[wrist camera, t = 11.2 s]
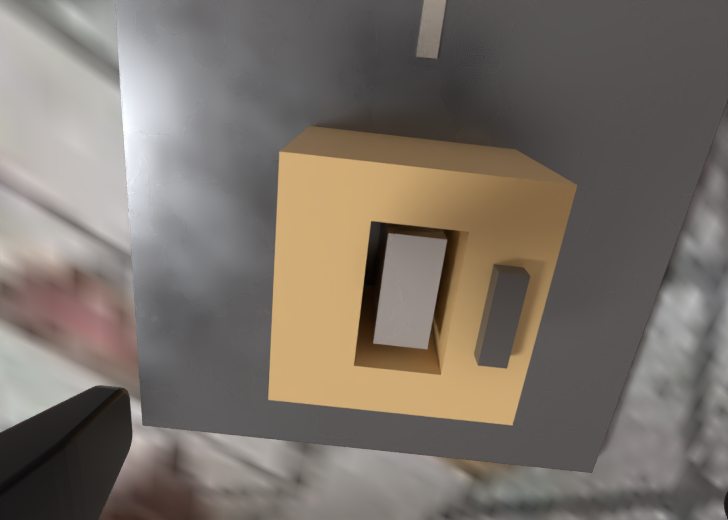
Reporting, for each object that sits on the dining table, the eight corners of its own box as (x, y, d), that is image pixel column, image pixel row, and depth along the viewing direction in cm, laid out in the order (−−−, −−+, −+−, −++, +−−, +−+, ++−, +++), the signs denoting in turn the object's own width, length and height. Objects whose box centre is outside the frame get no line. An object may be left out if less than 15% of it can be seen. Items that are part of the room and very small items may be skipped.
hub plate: (582, 454, 21) (650, 582, 16) (153, 408, 20) (77, 523, 15) (753, -36, 14) (967, -95, 9) (124, -114, 14) (-25, -223, 9)
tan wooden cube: (309, 125, 15) (275, 155, 10) (515, 149, 15) (586, 190, 10) (297, 311, 17) (263, 412, 12) (476, 330, 18) (517, 438, 12)
